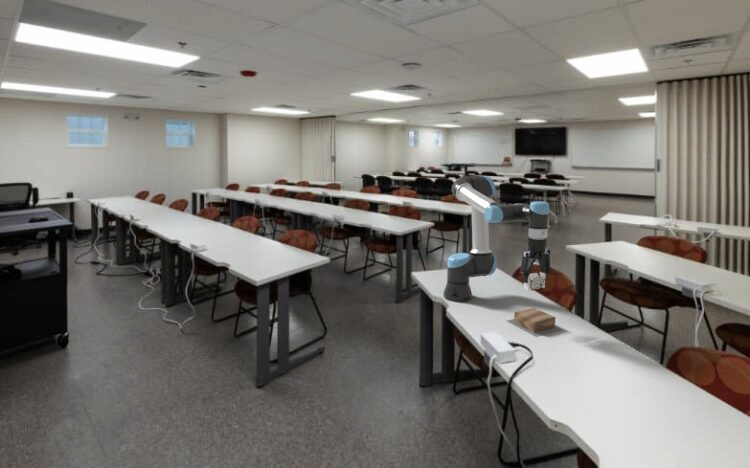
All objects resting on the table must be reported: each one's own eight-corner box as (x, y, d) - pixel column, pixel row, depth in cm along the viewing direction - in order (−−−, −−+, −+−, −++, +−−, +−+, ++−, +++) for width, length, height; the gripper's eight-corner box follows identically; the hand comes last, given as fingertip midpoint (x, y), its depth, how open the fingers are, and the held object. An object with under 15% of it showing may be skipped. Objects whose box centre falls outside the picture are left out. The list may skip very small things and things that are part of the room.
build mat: (505, 321, 181) (505, 320, 181) (531, 315, 188) (531, 314, 188) (536, 337, 165) (536, 336, 165) (563, 330, 172) (563, 329, 172)
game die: (537, 299, 172) (549, 284, 165) (519, 291, 173) (530, 276, 166) (537, 285, 179) (549, 270, 172) (520, 277, 180) (531, 263, 173)
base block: (514, 322, 179) (514, 312, 178) (533, 317, 184) (534, 307, 183) (534, 333, 169) (535, 322, 168) (554, 327, 173) (555, 317, 172)
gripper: (525, 241, 161) (521, 294, 166) (562, 237, 169) (558, 287, 173) (512, 238, 168) (509, 289, 172) (548, 234, 176) (545, 282, 180)
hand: (534, 288), depth 173 cm, fingers closed on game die, 8 cm apart
